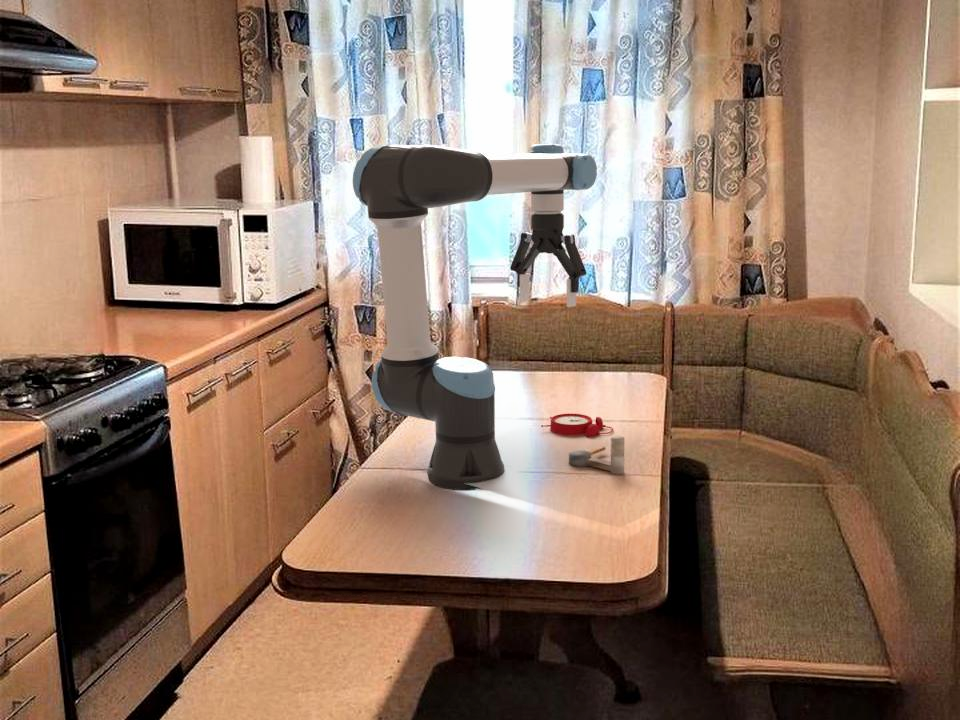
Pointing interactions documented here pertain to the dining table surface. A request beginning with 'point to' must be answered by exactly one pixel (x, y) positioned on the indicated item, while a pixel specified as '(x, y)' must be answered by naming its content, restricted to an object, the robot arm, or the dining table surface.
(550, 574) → the dining table surface
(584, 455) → the peg lever
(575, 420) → the alarm clock
